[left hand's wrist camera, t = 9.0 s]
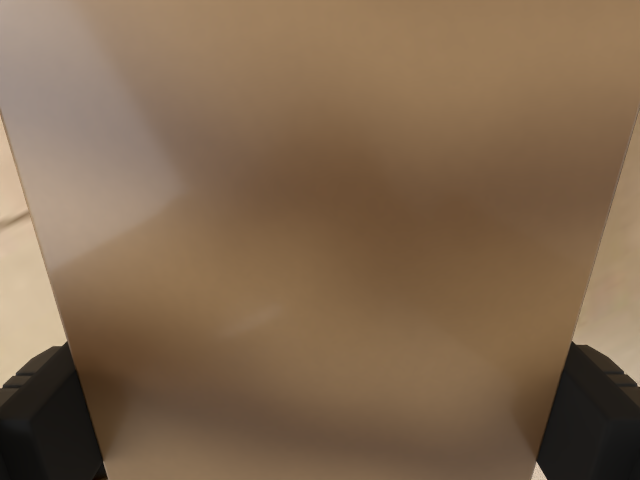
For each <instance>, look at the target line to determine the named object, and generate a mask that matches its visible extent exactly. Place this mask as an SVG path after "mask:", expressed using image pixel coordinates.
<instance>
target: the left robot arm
mask: <svg viewBox="0 0 640 480" xmlns="http://www.w3.org/2000/svg"><path fill="white" fill-rule="evenodd" d="M102 462H103V459H102V456H101V452H100V449H99V446H98V442H97V439H96V436H95V432H94V429H93V425H92V422H91V419H90V415H89V412H88V409H87V405H86V402H85V399H84V395H83V392H82V388H81V385H80V382H79V378H78V375H77V372H76V368H75V365H74V361H73V358H72V355H71V351H70V348H69V345H68V341H67V342H66V343H65V344H64V345H63V346H53V347H51V348H49V349H48V350H46V351H44V352H42V353H41V354H39V355H37V356H35V357H34V358H32V359H31V360H30V361H29V362H28V363H26V364H25V365H24V366H23V367H22V368H21V369H20V370H19V371H18V372H17V373H16V376H12V377H11V378H10V379H9V380H8V381H7V382H6V383H5V384H4V385H3V388H0V480H92V479H93V477H94V476H95V474H96V472H97V471H98V469H99V467H100V466H101V464H102ZM537 463H538V465H539V466H540V468H541V470H542V471H543V473H544V475H545V476H546V478H547V480H640V387H638V386H637V383H636V382H635V381H634V380H633V379H631V378H630V377H629V376H628V375H627V374H624V371H623V370H622V369H620V368H619V367H618V366H617V365H616V364H615V363H614V362H613V361H612V360H611V359H610V358H608V357H607V356H605V355H603V354H602V353H600V352H598V351H597V350H595V349H593V348H591V347H590V346H588V345H576V344H575V343H574V342H573V341H571V345H570V348H569V352H568V355H567V358H566V362H565V365H564V369H563V372H562V376H561V379H560V382H559V386H558V389H557V393H556V396H555V400H554V403H553V406H552V410H551V413H550V417H549V420H548V423H547V427H546V430H545V434H544V437H543V441H542V444H541V447H540V451H539V454H538V458H537Z"/></svg>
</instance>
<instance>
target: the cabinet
mask: <svg viewBox="0 0 640 480" xmlns="http://www.w3.org/2000/svg"><path fill="white" fill-rule="evenodd" d="M639 109H640V0H0V115H1V119H2V122H3V125H4V129H5V132H6V135H7V139H8V142H9V146H10V149H11V152H12V156H13V159H14V162H15V166H16V169H17V173H18V176H19V179H20V183H21V186H22V189H23V193H24V196H25V200H26V203H27V206H28V210H29V213H30V216H31V220H32V223H33V227H34V230H35V233H36V237H37V240H38V243H39V247H40V250H41V253H42V257H43V260H44V264H45V267H46V270H47V274H48V277H49V280H50V284H51V287H52V291H53V294H54V297H55V301H56V304H57V307H58V311H59V314H60V318H61V321H62V324H63V328H64V331H65V334H66V338H67V341H68V345H69V348H70V351H71V355H72V358H73V361H74V365H75V368H76V372H77V375H78V378H79V382H80V385H81V388H82V392H83V395H84V399H85V402H86V405H87V409H88V412H89V415H90V419H91V422H92V425H93V429H94V432H95V436H96V439H97V442H98V446H99V449H100V452H101V456H102V459H103V463H104V466H105V469H106V473H107V476H108V479H109V480H531V478H532V475H533V471H534V468H535V464H536V461H537V458H538V454H539V451H540V447H541V444H542V441H543V437H544V434H545V430H546V427H547V423H548V420H549V417H550V413H551V410H552V406H553V403H554V400H555V396H556V393H557V389H558V386H559V382H560V379H561V376H562V372H563V369H564V365H565V362H566V358H567V355H568V352H569V348H570V345H571V341H572V338H573V335H574V331H575V328H576V324H577V321H578V317H579V314H580V311H581V307H582V304H583V300H584V297H585V293H586V290H587V287H588V283H589V280H590V276H591V273H592V270H593V266H594V263H595V259H596V256H597V252H598V249H599V246H600V242H601V239H602V235H603V232H604V228H605V225H606V222H607V218H608V215H609V211H610V208H611V205H612V201H613V198H614V194H615V191H616V187H617V184H618V181H619V177H620V174H621V170H622V167H623V163H624V160H625V157H626V153H627V150H628V146H629V143H630V140H631V136H632V133H633V129H634V126H635V122H636V119H637V116H638V112H639Z"/></svg>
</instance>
